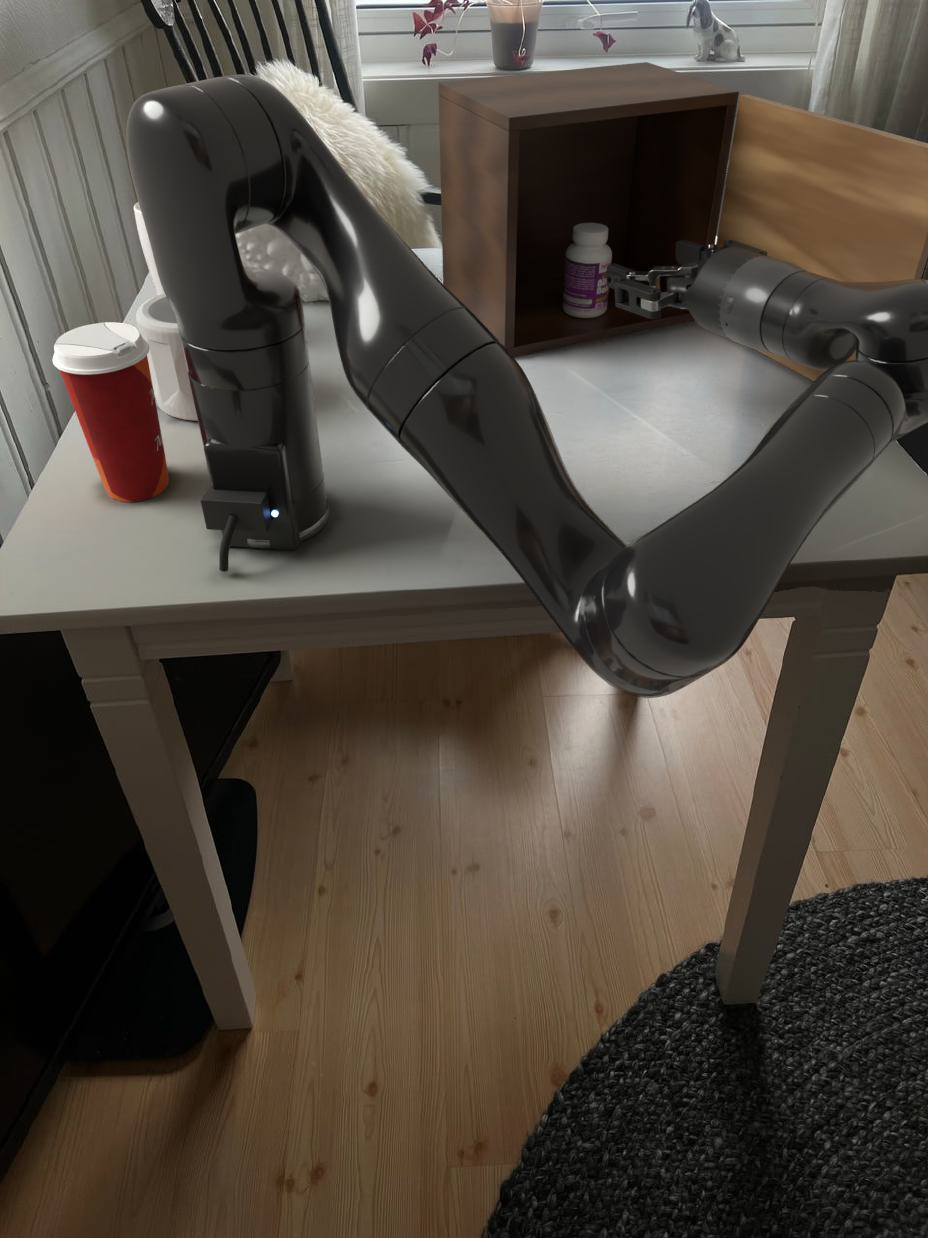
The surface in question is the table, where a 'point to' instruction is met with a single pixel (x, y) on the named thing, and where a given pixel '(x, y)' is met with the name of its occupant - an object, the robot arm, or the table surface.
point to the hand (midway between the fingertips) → (644, 262)
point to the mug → (166, 358)
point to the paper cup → (115, 406)
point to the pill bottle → (587, 271)
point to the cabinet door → (826, 197)
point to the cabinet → (575, 189)
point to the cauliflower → (280, 259)
